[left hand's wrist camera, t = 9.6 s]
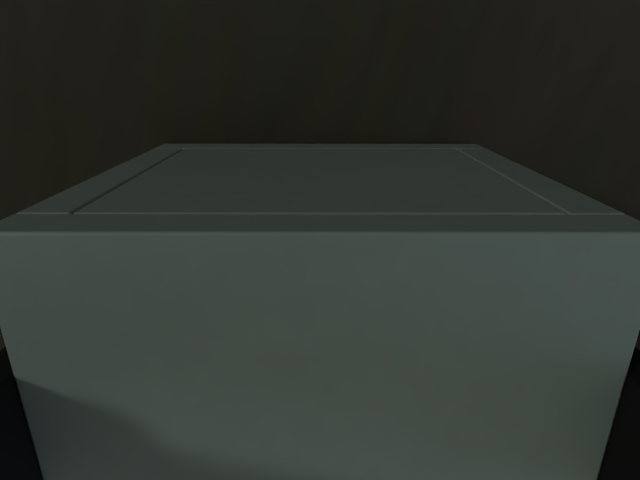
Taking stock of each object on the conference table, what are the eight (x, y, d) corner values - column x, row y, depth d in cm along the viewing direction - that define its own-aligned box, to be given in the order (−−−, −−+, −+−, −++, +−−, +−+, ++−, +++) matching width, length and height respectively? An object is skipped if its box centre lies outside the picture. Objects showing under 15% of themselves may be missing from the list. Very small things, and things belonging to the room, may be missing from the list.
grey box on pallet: (435, 496, 23) (512, 784, 14) (204, 496, 23) (126, 784, 14) (477, 143, 17) (668, 232, 7) (163, 143, 17) (-29, 232, 7)
